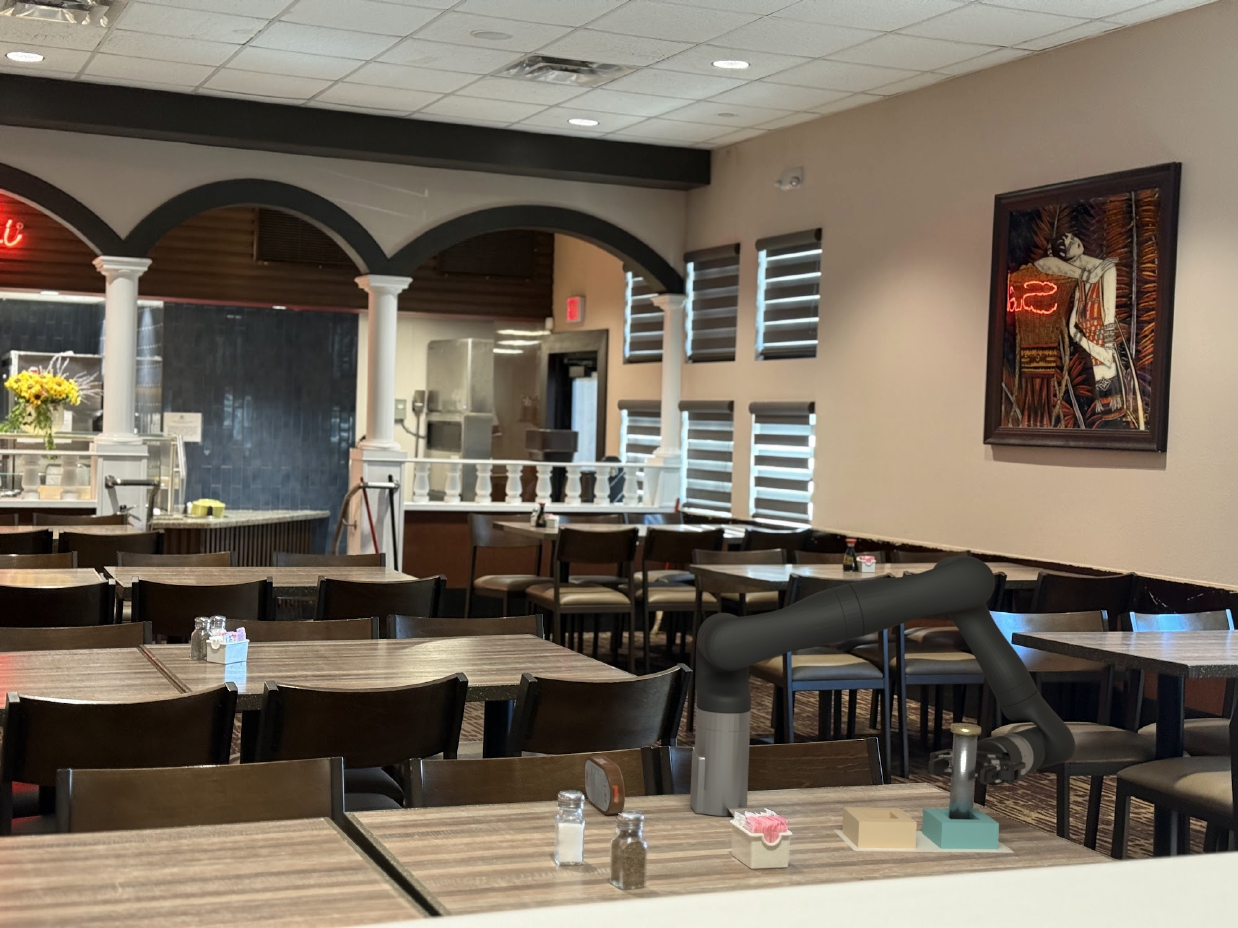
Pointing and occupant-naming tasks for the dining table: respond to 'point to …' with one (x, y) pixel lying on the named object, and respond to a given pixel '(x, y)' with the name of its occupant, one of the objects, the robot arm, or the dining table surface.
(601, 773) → the tin
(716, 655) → the robot arm
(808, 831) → the dining table surface
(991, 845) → the dock
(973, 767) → the pin
